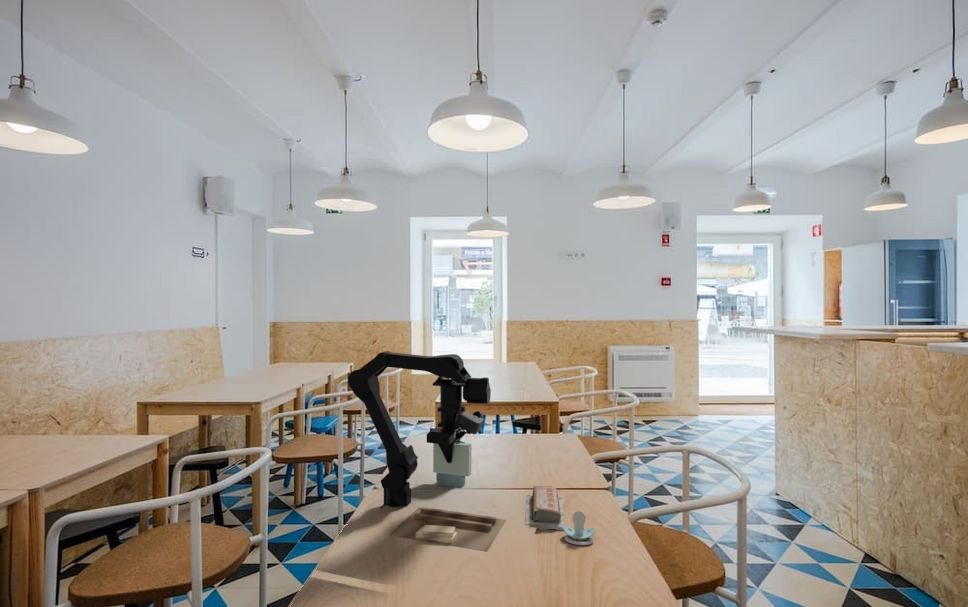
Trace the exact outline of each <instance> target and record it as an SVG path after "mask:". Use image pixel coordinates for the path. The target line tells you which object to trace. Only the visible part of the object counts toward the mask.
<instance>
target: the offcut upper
mask: <svg viewBox="0 0 968 607" xmlns="http://www.w3.org/2000/svg"><path fill="white" fill-rule="evenodd" d="M454 533H455V527H451V526H435V525H425V526H424V528H423V530H422V535H426V536H441V537H453V535H454Z"/></svg>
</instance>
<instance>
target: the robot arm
mask: <svg viewBox="0 0 968 607" xmlns="http://www.w3.org/2000/svg"><path fill="white" fill-rule="evenodd" d="M464 364H465V363H464V361H463V359H462V357H461V356H460V355H458V354H455V353H450V354H440V355H431V356H428V355H420V354H411V353H401V352H392V351H389V350H385V351H381V352H379V353H378V354H377V355H376V356H375V357H373V358H372V359H371V360H370V361H369V362H367V363H366V364H364V365H363V366H362V367H360V368H358V369H355V370H353V371H351V372H350V373H349V375H348V377H347V385H348V387H349V388H350V389H351V391H352V393H353V394H354V396H355V397H357V398H358V400H360V402H362V403H363V404H364V406H365V409H366V411H367V412H368V415H369V417H370V419H371V422H372V423H373V426H374V428H375V430H376V433H377V434H378V437H379V439H380V441H381V443H382V446H383V448H384V450H385V456H386V458H385V459H386V465H387V469H388V473H387V474H385V476H384V477H382V479H380V483H381V484H380V485H381V487H382V489H383V503H382V504H381V506H380V509H381V510H382V509H383V508H384V507H386V506H387V507H391V508H400V507H408V506H409V505H410V504H411V503H412V488H410V487H411V486H410V485H411V484H410V481H408V480H409V479H410V478H411V476H413V474H414V473H415V472H416V471H417V467H418V458H419V456H417V454H416V453H415V450H414V447H413V445H411V444H410V445H408V446H407V445H405V443H403V442H402V439H401V438H400V435H399V434H398V431H397V428H396V426H395V425H394V423H393V420H392V418H391V416H390V413H389V412H388V409H387V407H386V405H385V402H384V401H383V398H382V396H381V390H380V386H381V385H380V382H379V376H381V374H383V373H384V372H385V370H387V368H393V369H394V368H395V369H401V370H402V369H403V370H411V371H412V370H413V371H421V372H427V373H430V374H432V375H435V376H437V379H436V380H435V381H434V382H432V384H431V385H432V386H434V387H439V389H440V390H439V392H440V393H439V395H440V396H439V397H440V398H439V399H440V401H439V406H438V407H437V412H438V413H439V419H440V420H439V422H438V423H437V427H435V428H433V429H431V430H430V431H429V432H427V433H426V443H428V444H433V443H435V444H438V445H439V447H440V449H441V451H442V453H443V455H444V457H445V459H446V461H447V463H451V462H452V457H453V450H454V444H455V442H460V441H461V439H463V437H464V436H465V435H467V432H469V433H470V434H472V435H477V434H478V433H479V432H481V429H482V426H483V424H484V423H485V421H484V420H485V419H484V417H483V412H482V411H481V410H475V412H473V413H472V412H467V411H466V406H465V405H464V404H463V400H464V401H465V402H466V403H467V404H477V405H489V404H490V403H491V393H492V389H491V385H490V379H489V377H472V376H471V374H470V373H469V372H468V369H466V367H465V366H464ZM463 430H465V431H463Z"/></svg>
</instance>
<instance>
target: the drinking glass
mask: <svg viewBox="0 0 968 607" xmlns="http://www.w3.org/2000/svg"><path fill="white" fill-rule="evenodd" d="M459 443H466V442H465V441H462V440H460V442H459ZM435 475H436V485H437V486H439V487H444V488H445V487H446V488H452V489H453V488H454V489H462V488H463V487H464V486H465V485H466V476H460V475H451V474H443V473H436V474H435Z"/></svg>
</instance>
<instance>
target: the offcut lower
mask: <svg viewBox="0 0 968 607" xmlns="http://www.w3.org/2000/svg"><path fill="white" fill-rule="evenodd" d="M423 528H424V527H421V528H420V529H419V530H418V531H417V532H416V538H420V539H426V540H432V541H438V542H445V543H451V544H452V543H453V542H454V541H455V539H456V538H457V537H458V532H455V533H454V535H453V537H441V536H426V535H422V530H423Z"/></svg>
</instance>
